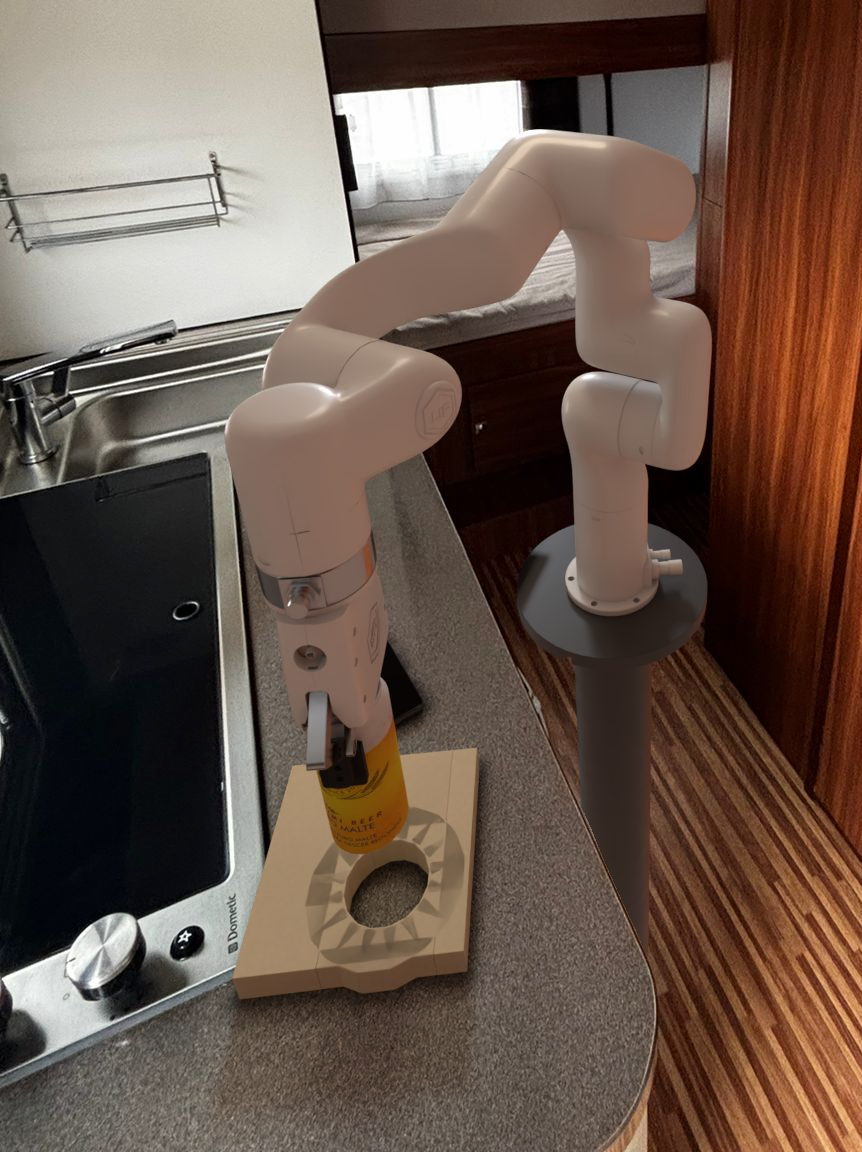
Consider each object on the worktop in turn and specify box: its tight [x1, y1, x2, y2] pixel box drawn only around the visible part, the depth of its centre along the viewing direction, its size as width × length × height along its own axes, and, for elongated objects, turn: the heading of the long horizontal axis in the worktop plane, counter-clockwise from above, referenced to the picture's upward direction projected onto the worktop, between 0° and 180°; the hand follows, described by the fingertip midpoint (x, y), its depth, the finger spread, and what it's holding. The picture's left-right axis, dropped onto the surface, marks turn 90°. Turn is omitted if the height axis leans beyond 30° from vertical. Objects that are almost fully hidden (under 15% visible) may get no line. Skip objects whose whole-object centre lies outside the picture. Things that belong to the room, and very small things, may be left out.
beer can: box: [306, 677, 409, 854], centre depth 63 cm, size 6×6×15 cm
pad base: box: [231, 747, 480, 1000], centre depth 73 cm, size 18×19×3 cm
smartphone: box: [381, 637, 425, 726], centre depth 92 cm, size 7×1×15 cm
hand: (355, 739), depth 62 cm, fingers closed on beer can, 6 cm apart
